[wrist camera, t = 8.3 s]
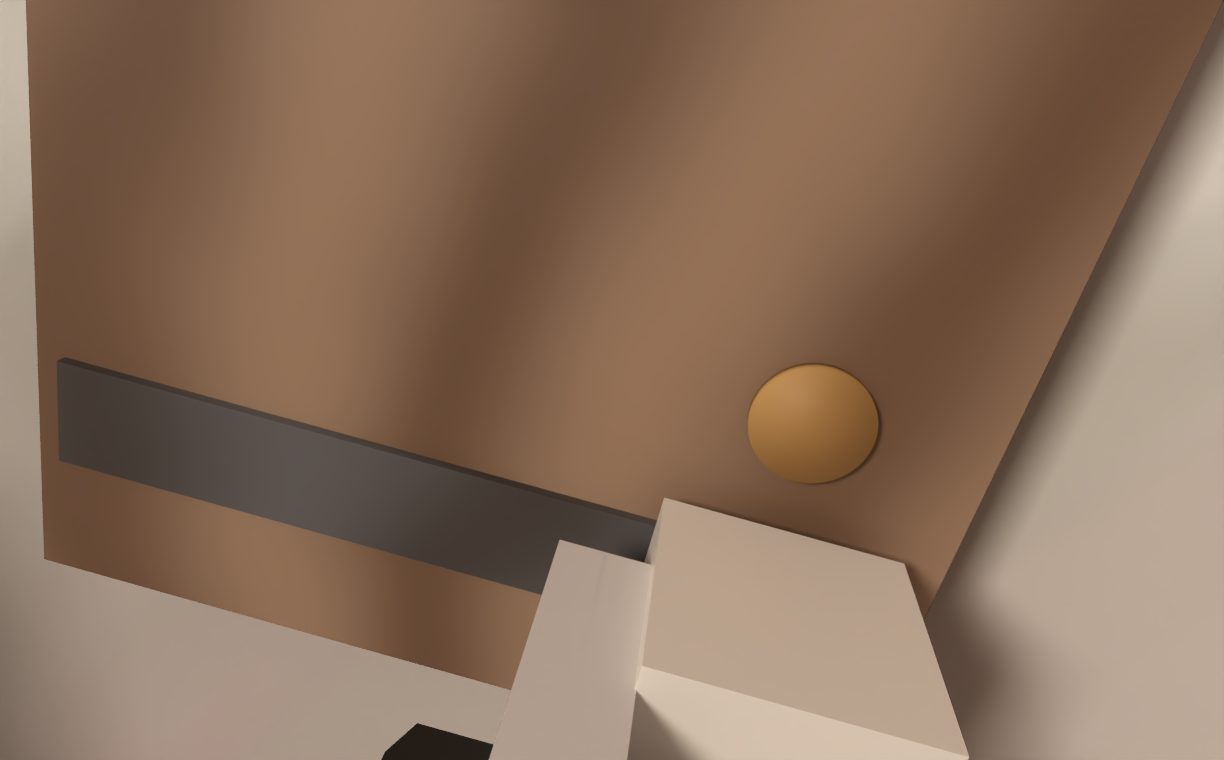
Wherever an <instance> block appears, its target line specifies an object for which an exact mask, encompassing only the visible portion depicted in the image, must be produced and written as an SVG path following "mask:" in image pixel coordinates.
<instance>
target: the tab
mask: <svg viewBox="0 0 1224 760" xmlns="http://www.w3.org/2000/svg"><path fill="white" fill-rule="evenodd" d="M644 563H647V564H650V565H651V572H650V580H649V587H648V594H647V601H646V609H645V616H644V623H643V630H642V637H641V645H640V652H639V659H638V666H637V674H636V681H635V688H634V690H636V696H635V703H634V711H633V719H632V726H631V734H630V742H629V749H628V757H627V760H968V759H969V754H968V751H967V748H966V745H965V743H964V740H963V737H962V734H961V731H960V728H959V725H958V722H957V719H956V716H955V713H954V710H953V707H952V704H951V701H950V698H949V695H948V692H947V689H946V686H945V683H944V680H943V677H942V674H941V671H940V668H939V665H938V662H937V659H936V656H935V653H934V650H933V647H932V644H931V641H930V638H929V636H928V633H927V630H926V627H925V624H924V621H923V618H922V615H921V612H920V609H919V606H918V603H917V600H916V597H915V594H914V591H913V588H912V585H911V582H910V579H909V576H908V573H907V570H906V567H905V564H904V563H900V562H897V561H893V560H889V559H886V558H882V557H879V556H875V555H871V554H868V553H864V552H860V551H857V550H853V549H849V548H846V547H842V546H839V545H835V544H831V543H828V542H824V541H820V540H817V539H813V538H809V537H806V536H802V535H799V534H795V533H791V532H788V531H784V530H780V529H777V528H773V527H770V526H766V525H762V524H759V523H755V522H751V521H748V520H744V519H740V518H737V517H733V516H730V515H726V514H722V513H719V512H715V511H711V510H708V509H704V508H700V507H697V506H693V505H690V504H686V503H682V502H679V501H675V500H671V499H668V498H664V500H663V503H662V506H661V509H660V513H659V516H658V519H657V522H656V526H655V529H654V532H653V535H652V539H651V542H650V545H649V548H648V552H647V555H646V558H645V561H644Z"/></svg>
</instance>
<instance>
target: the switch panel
mask: <svg viewBox="0 0 1224 760" xmlns="http://www.w3.org/2000/svg"><path fill="white" fill-rule="evenodd" d="M1222 2H1223V0H26V17H27V47H28V77H29V108H30V138H31V168H32V199H33V229H34V259H35V290H36V320H37V350H38V380H39V411H40V441H41V471H42V502H43V532H44V559H46V560H50V561H54V562H57V563H61V564H64V565H68V566H71V567H75V568H79V569H82V570H86V571H89V572H93V573H96V574H100V575H103V576H107V577H111V578H114V579H118V580H121V581H125V582H128V583H132V584H135V585H139V586H143V587H146V588H150V589H153V590H157V591H160V592H164V593H167V594H171V595H175V596H178V597H182V598H185V599H189V600H192V601H196V602H200V603H203V604H207V605H210V606H214V607H217V608H221V609H224V610H228V611H232V612H235V613H239V614H242V615H246V616H249V617H253V618H256V619H260V620H264V621H267V622H271V623H274V624H278V625H281V626H285V627H288V628H292V629H296V630H299V631H303V632H306V633H310V634H313V635H317V636H320V637H324V638H328V639H331V640H335V641H338V642H342V643H345V644H349V645H353V646H356V647H360V648H363V649H367V650H370V651H374V652H377V653H381V654H385V655H388V656H392V657H395V658H399V659H402V660H406V661H409V662H413V663H417V664H420V665H424V666H427V667H431V668H434V669H438V670H441V671H445V672H449V673H452V674H456V675H459V676H463V677H466V678H470V679H474V680H477V681H481V682H484V683H488V684H491V685H495V686H498V687H502V688H506V689H509V690H511V689H512V686H513V683H514V680H515V677H516V674H517V670H518V667H519V664H520V661H521V658H522V655H523V652H524V649H525V646H526V642H527V639H528V636H529V633H530V630H531V627H532V624H533V621H534V618H535V614H536V611H537V608H538V605H539V602H540V599H541V596H542V593H543V590H544V586H545V583H546V580H547V577H548V574H549V571H550V568H551V565H552V562H553V558H554V555H555V552H556V549H557V546H558V543H559V540H563V541H567V542H570V543H574V544H578V545H581V546H585V547H589V548H592V549H596V550H599V551H603V552H607V553H610V554H614V555H617V556H621V557H625V558H628V559H632V560H636V561H639V562H643V563H644V561H645V558H646V555H647V552H648V548H649V545H650V542H651V539H652V535H653V532H654V529H655V526H656V522H657V519H658V516H659V513H660V509H661V506H662V503H663V500H664V498H668V499H671V500H675V501H679V502H682V503H686V504H690V505H693V506H697V507H700V508H704V509H708V510H711V511H715V512H719V513H722V514H726V515H730V516H733V517H737V518H740V519H744V520H748V521H751V522H755V523H759V524H762V525H766V526H770V527H773V528H777V529H780V530H784V531H788V532H791V533H795V534H799V535H802V536H806V537H809V538H813V539H817V540H820V541H824V542H828V543H831V544H835V545H839V546H842V547H846V548H849V549H853V550H857V551H860V552H864V553H868V554H871V555H875V556H879V557H882V558H886V559H889V560H893V561H897V562H900V563H904V564H905V567H906V570H907V573H908V576H909V579H910V582H911V585H912V588H913V591H914V594H915V597H916V600H917V603H918V606H919V609H920V612H921V615H922V618H923V620H924V618H925V616H926V614H927V612H928V610H929V608H930V606H931V604H932V602H933V600H934V598H935V596H936V593H937V591H938V589H939V587H940V585H941V583H942V581H943V579H944V577H945V575H946V573H947V571H948V569H949V567H950V565H951V562H952V560H953V558H954V556H955V554H956V552H957V550H958V548H959V546H960V544H961V542H962V540H963V538H964V536H965V534H966V531H967V529H968V527H969V525H970V523H971V521H972V519H973V517H974V515H975V513H976V511H977V509H978V507H979V505H980V503H981V500H982V498H983V496H984V494H985V492H986V490H987V488H988V486H989V484H990V482H991V480H992V478H993V476H994V474H995V471H996V469H997V467H998V465H999V463H1000V461H1001V459H1002V457H1003V455H1004V453H1005V451H1006V449H1007V447H1008V445H1009V443H1010V440H1011V438H1012V436H1013V434H1014V432H1015V430H1016V428H1017V426H1018V424H1019V422H1020V420H1021V418H1022V416H1023V414H1024V412H1025V409H1026V407H1027V405H1028V403H1029V401H1030V399H1031V397H1032V395H1033V393H1034V391H1035V389H1036V387H1037V385H1038V383H1039V381H1040V378H1041V376H1042V374H1043V372H1044V370H1045V368H1046V366H1047V364H1048V362H1049V360H1050V358H1051V356H1052V354H1053V352H1054V350H1055V347H1056V345H1057V343H1058V341H1059V339H1060V337H1061V335H1062V333H1063V331H1064V329H1065V327H1066V325H1067V323H1068V321H1069V319H1070V316H1071V314H1072V312H1073V310H1074V308H1075V306H1076V304H1077V302H1078V300H1079V298H1080V296H1081V294H1082V292H1083V290H1084V287H1085V285H1086V283H1087V281H1088V279H1089V277H1090V275H1091V273H1092V271H1093V269H1094V267H1095V265H1096V263H1097V261H1098V259H1099V256H1100V254H1101V252H1102V250H1103V248H1104V246H1105V244H1106V242H1107V240H1108V238H1109V236H1110V234H1111V232H1112V230H1113V228H1114V225H1115V223H1116V221H1117V219H1118V217H1119V215H1120V213H1121V211H1122V209H1123V207H1124V205H1125V203H1126V201H1127V199H1128V197H1129V194H1130V192H1131V190H1132V188H1133V186H1134V184H1135V182H1136V180H1137V178H1138V176H1139V174H1140V172H1141V170H1142V168H1143V166H1144V163H1145V161H1146V159H1147V157H1148V155H1149V153H1150V151H1151V149H1152V147H1153V145H1154V143H1155V141H1156V139H1157V137H1158V134H1159V132H1160V130H1161V128H1162V126H1163V124H1164V122H1165V120H1166V118H1167V116H1168V114H1169V112H1170V110H1171V108H1172V106H1173V103H1174V101H1175V99H1176V97H1177V95H1178V93H1179V91H1180V89H1181V87H1182V85H1183V83H1184V81H1185V79H1186V77H1187V75H1188V72H1189V70H1190V68H1191V66H1192V64H1193V62H1194V60H1195V58H1196V56H1197V54H1198V52H1199V50H1200V48H1201V46H1202V44H1203V41H1204V39H1205V37H1206V35H1207V33H1208V31H1209V29H1210V27H1211V25H1212V23H1213V21H1214V19H1215V17H1216V15H1217V13H1218V10H1219V8H1220V6H1221V4H1222Z"/></svg>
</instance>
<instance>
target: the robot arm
mask: <svg viewBox="0 0 1224 760" xmlns="http://www.w3.org/2000/svg"><path fill="white" fill-rule="evenodd" d="M650 572H651V565H650V564H647V563H643V562H639V561H636V560H632V559H628V558H625V557H621V556H617V555H614V554H610V553H607V552H603V551H599V550H596V549H592V548H589V547H585V546H581V545H578V544H574V543H570V542H567V541H563V540H559V543H558V546H557V549H556V552H555V555H554V558H553V562H552V565H551V568H550V571H549V574H548V577H547V580H546V583H545V586H544V590H543V593H542V596H541V599H540V602H539V605H538V608H537V611H536V614H535V618H534V621H533V624H532V627H531V630H530V633H529V636H528V639H527V642H526V646H525V649H524V652H523V655H522V658H521V661H520V664H519V667H518V670H517V674H516V677H515V680H514V683H513V686H512V689H511V692H510V695H509V698H508V702H507V705H506V708H505V711H504V714H503V717H502V720H501V723H500V726H499V730H498V733H497V736H496V739H495V742H494V745H493V744H489V743H486V742H482V741H479V740H475V739H471V738H468V737H464V736H461V735H457V734H454V733H450V732H446V731H443V730H439V729H436V728H432V727H429V726H425V725H421V724H418V723H417V724H416V725H415V726H414V727H413V728H411V729H410V730H409V731H408V732H407V733H406V734H405V735H404V736H402V737H401V738H400V739H399V740H398V741H397V742H396V743H395V744H393V745H392V746H391V747H390V748H389V749H388V750H387V751H386V752H385V753H384V755H383V758H382V760H627V757H628V749H629V742H630V734H631V726H632V719H633V711H634V703H635V696H636V690H634V688H635V681H636V674H637V666H638V659H639V652H640V645H641V637H642V630H643V623H644V616H645V609H646V601H647V594H648V587H649V580H650Z"/></svg>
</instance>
